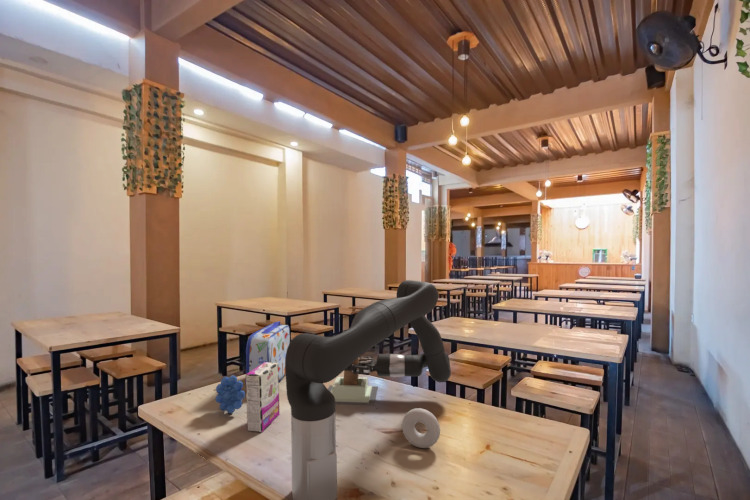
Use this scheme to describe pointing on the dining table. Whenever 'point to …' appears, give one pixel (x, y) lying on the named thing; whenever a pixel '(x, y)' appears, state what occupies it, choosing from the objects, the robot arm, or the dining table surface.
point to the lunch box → (268, 347)
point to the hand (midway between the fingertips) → (342, 364)
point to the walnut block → (351, 376)
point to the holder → (351, 391)
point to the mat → (371, 402)
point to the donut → (428, 420)
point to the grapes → (230, 394)
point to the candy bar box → (262, 396)
